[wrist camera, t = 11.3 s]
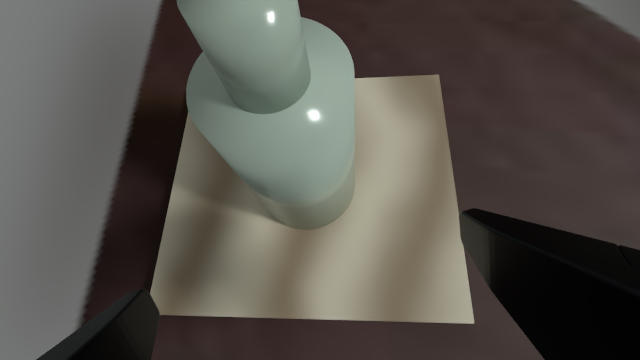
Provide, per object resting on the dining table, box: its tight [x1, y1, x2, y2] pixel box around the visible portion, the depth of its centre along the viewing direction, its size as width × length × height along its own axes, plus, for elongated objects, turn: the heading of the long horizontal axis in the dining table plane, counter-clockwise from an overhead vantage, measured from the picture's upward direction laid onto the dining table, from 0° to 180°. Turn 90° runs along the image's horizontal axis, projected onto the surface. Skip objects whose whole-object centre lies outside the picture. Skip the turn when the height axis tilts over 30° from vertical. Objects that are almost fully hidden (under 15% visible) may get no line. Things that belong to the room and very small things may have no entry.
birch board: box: [150, 75, 474, 324], centre depth 21 cm, size 18×16×1 cm
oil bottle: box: [177, 0, 355, 230], centre depth 14 cm, size 6×6×14 cm
